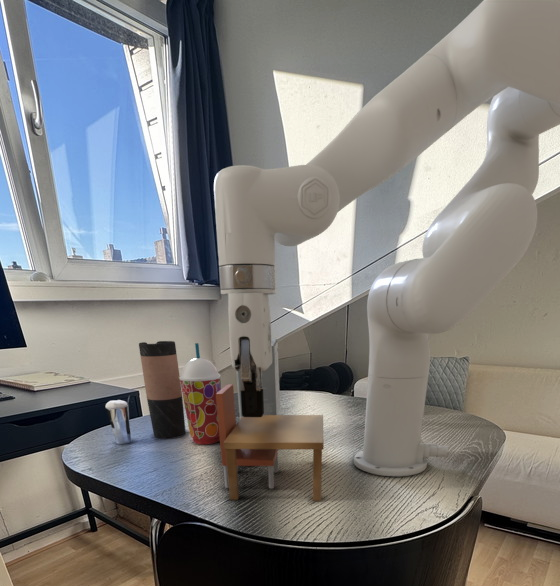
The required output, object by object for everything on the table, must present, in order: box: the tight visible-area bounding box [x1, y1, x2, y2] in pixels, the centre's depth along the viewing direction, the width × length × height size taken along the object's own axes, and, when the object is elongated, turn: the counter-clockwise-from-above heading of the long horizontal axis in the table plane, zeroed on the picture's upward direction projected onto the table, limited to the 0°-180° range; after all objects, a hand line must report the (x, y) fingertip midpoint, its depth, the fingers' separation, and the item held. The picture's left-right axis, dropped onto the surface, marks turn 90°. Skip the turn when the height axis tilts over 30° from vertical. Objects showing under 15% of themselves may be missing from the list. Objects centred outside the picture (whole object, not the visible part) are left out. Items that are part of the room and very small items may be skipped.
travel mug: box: [138, 340, 186, 440], centre depth 91 cm, size 8×8×20 cm
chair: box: [216, 383, 279, 489], centre depth 65 cm, size 8×8×15 cm
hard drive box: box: [235, 338, 282, 420], centre depth 86 cm, size 16×8×20 cm, turn 178°
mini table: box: [224, 414, 325, 502], centre depth 66 cm, size 14×16×9 cm
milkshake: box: [105, 395, 132, 445], centre depth 88 cm, size 4×5×10 cm
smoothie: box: [179, 342, 222, 445], centre depth 85 cm, size 8×8×20 cm
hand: (253, 415), depth 63 cm, fingers closed
